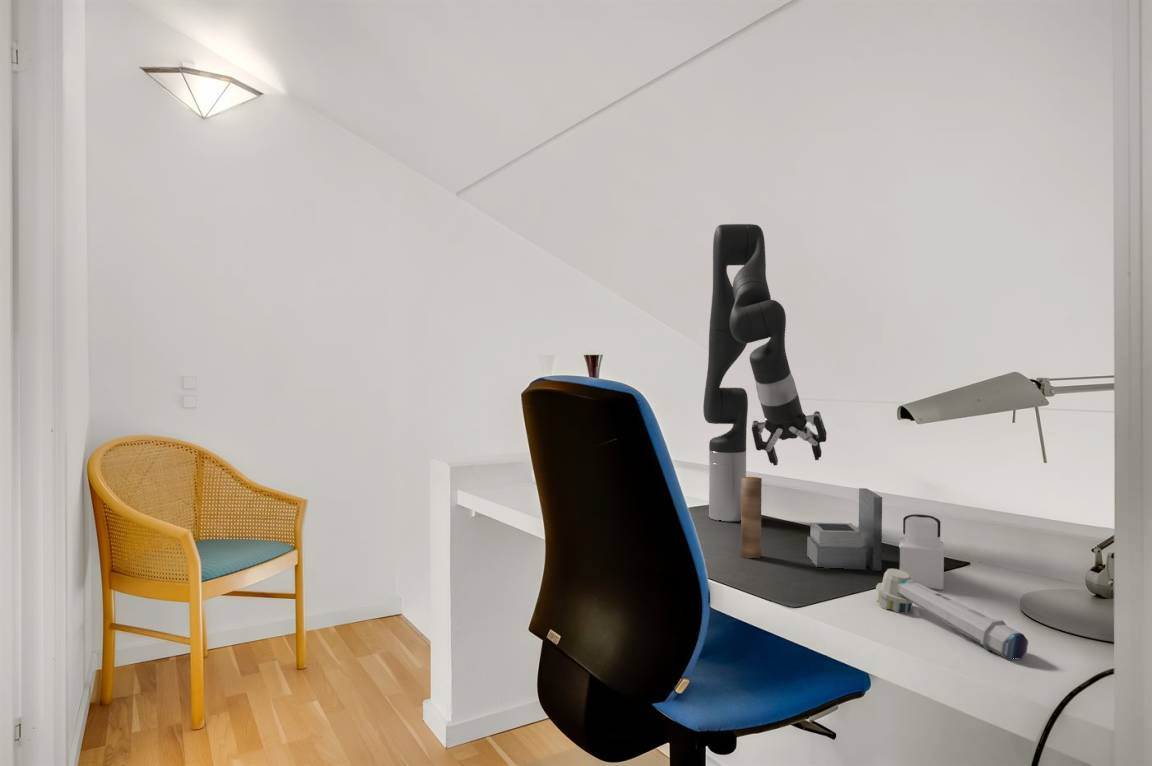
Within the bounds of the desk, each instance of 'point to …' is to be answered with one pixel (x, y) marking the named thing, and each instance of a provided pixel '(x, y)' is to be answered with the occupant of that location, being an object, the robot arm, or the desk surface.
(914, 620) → the desk surface
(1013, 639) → the toothbrush head
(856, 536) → the cup bracket
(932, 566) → the medicine bottle
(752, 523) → the brown wooden cylinder
